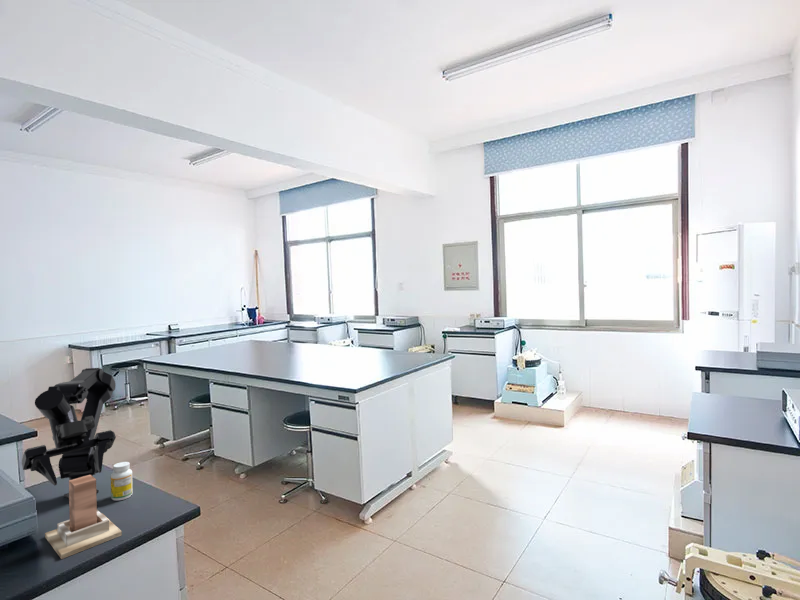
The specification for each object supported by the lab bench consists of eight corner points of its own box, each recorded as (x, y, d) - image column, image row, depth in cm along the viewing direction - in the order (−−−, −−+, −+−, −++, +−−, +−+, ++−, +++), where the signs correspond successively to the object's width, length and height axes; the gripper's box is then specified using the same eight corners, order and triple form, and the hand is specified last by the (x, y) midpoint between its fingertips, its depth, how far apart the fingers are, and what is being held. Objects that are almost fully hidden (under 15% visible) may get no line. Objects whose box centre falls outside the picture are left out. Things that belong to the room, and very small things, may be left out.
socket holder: (45, 537, 105) (44, 522, 105) (102, 516, 114) (102, 503, 114) (61, 559, 96) (61, 543, 96) (121, 535, 105) (121, 521, 105)
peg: (69, 533, 105) (68, 480, 104) (91, 525, 108) (90, 474, 108) (75, 539, 102) (74, 485, 102) (97, 531, 105) (96, 479, 105)
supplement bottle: (129, 499, 124) (129, 466, 123) (108, 502, 122) (107, 469, 122) (135, 491, 129) (134, 459, 129) (114, 493, 127) (114, 461, 127)
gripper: (23, 416, 103) (35, 474, 96) (112, 400, 117) (128, 449, 111) (16, 441, 108) (28, 498, 101) (103, 423, 122) (118, 471, 116)
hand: (78, 478), depth 107 cm, fingers open, 9 cm apart
